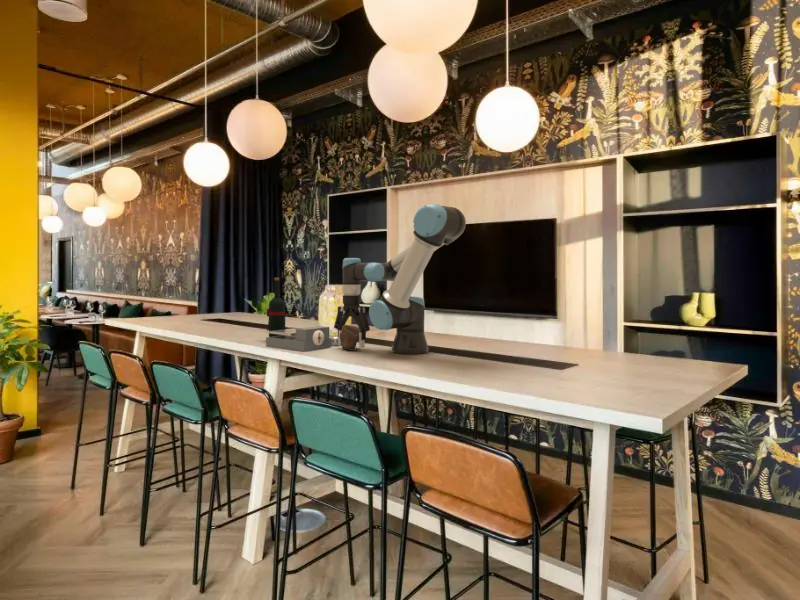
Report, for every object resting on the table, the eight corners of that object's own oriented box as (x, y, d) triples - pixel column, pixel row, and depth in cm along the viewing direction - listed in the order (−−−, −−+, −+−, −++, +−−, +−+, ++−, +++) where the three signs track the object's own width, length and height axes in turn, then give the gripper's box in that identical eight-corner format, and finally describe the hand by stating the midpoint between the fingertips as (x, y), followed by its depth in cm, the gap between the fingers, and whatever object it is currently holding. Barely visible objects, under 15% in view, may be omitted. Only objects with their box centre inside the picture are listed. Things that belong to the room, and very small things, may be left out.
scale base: (332, 347, 236) (332, 327, 236) (305, 351, 223) (305, 330, 223) (293, 342, 251) (293, 323, 251) (266, 346, 238) (265, 326, 238)
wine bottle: (274, 339, 260) (273, 277, 258) (289, 341, 255) (289, 277, 253) (261, 341, 254) (261, 277, 252) (277, 343, 248) (276, 277, 246)
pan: (314, 335, 241) (314, 330, 241) (290, 338, 230) (290, 333, 230) (293, 332, 249) (293, 328, 249) (269, 335, 238) (269, 331, 238)
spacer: (343, 345, 243) (343, 336, 242) (335, 346, 239) (335, 337, 238) (335, 344, 246) (335, 335, 245) (327, 345, 242) (327, 337, 241)
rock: (365, 340, 224) (345, 327, 221) (350, 359, 226) (330, 346, 223) (365, 330, 235) (346, 317, 233) (351, 348, 237) (332, 336, 235)
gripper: (378, 295, 224) (378, 348, 226) (337, 293, 238) (337, 343, 240) (367, 296, 218) (366, 350, 220) (325, 294, 232) (325, 344, 234)
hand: (351, 346), depth 230 cm, fingers closed on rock, 11 cm apart
